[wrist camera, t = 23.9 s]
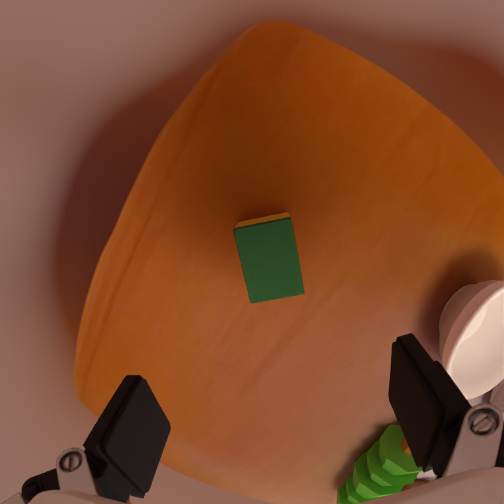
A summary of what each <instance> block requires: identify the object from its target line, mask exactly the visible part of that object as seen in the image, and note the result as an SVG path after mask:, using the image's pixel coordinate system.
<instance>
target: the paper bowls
mask: <svg viewBox="0 0 504 504" xmlns="http://www.w3.org/2000/svg"><path fill="white" fill-rule="evenodd" d="M490 405H493V406H495V407H497V408H498V409H499V410H500V411H501V412H502V415H503V421H504V379H503V380H502V381H501V382H500V383H498V384H497V385H496V386H495V387H494V388H493V391H492V393H491V397H490Z"/></svg>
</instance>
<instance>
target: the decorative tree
mask: <svg viewBox="0 0 504 504" xmlns="http://www.w3.org/2000/svg"><path fill="white" fill-rule="evenodd" d="M420 471H423V470H422V467H417V466H416V464H415V462H414V459H413V457H412V454H411V452H410V449H409V447H408V444H407V442H406V439H405V437H404V434H403V432H402V429H401V427H400V425H389V426H388V428H387V429H386V430H385V432H384V433H383V434H382V435H381V437H380V440H377V441H376V442H375V443H374V444H373V446H372V447H371V448H370V449H369V450H368V451H367V452H364V453H363V454H362V455H361V457H360V458H359V459H358V460H357V461H356V462H355V463H354V471H353V474H352V475H351V476H350V477H349V478H348V479H347V480H346V481H345V482H344V483H343V484H342V485H341V486H340V487H339V488H338V494H337V504H358V503H362V502H366V501H370V500H374V499H378V498H381V497H385V496H388V495H392V494H395V493H398V492H400V491H401V490H402V488H403V486H404V485H406V484H413V482H414V481H415V479H416V477H417V475H418V473H419V472H420Z"/></svg>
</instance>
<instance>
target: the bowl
mask: <svg viewBox="0 0 504 504" xmlns="http://www.w3.org/2000/svg"><path fill="white" fill-rule="evenodd" d="M439 332H440V340H439V346H440V358H441V361H442V364H443V367H444V369H445V370H446V371H447V373H448V374H449V375H450V377H451V378H452V380H453V381H454V382H455V384H456V385H457V387H458V388H459V389H460V391H461V392H462V394H463V395H464V397H465V398H466V399H467V400H468V399H473V398H475V397H478V396H480V395H482V394H484V393H486V392H488V391H489V390H491V389H492V388H493V387H495V386H496V385H497V384H498V383H500V382H501V381H502V380H503V379H504V281H501V280H488V281H483V282H480V283H477V284H470V285H466V286H464V287H462V288H460V289H459V290H458V291H457V292H455V293H454V294H453V295H452V297H451V298H450V299H449V300H448V302H447V303H446V305H445V307H444V309H443V311H442V314H441V316H440V321H439Z"/></svg>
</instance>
